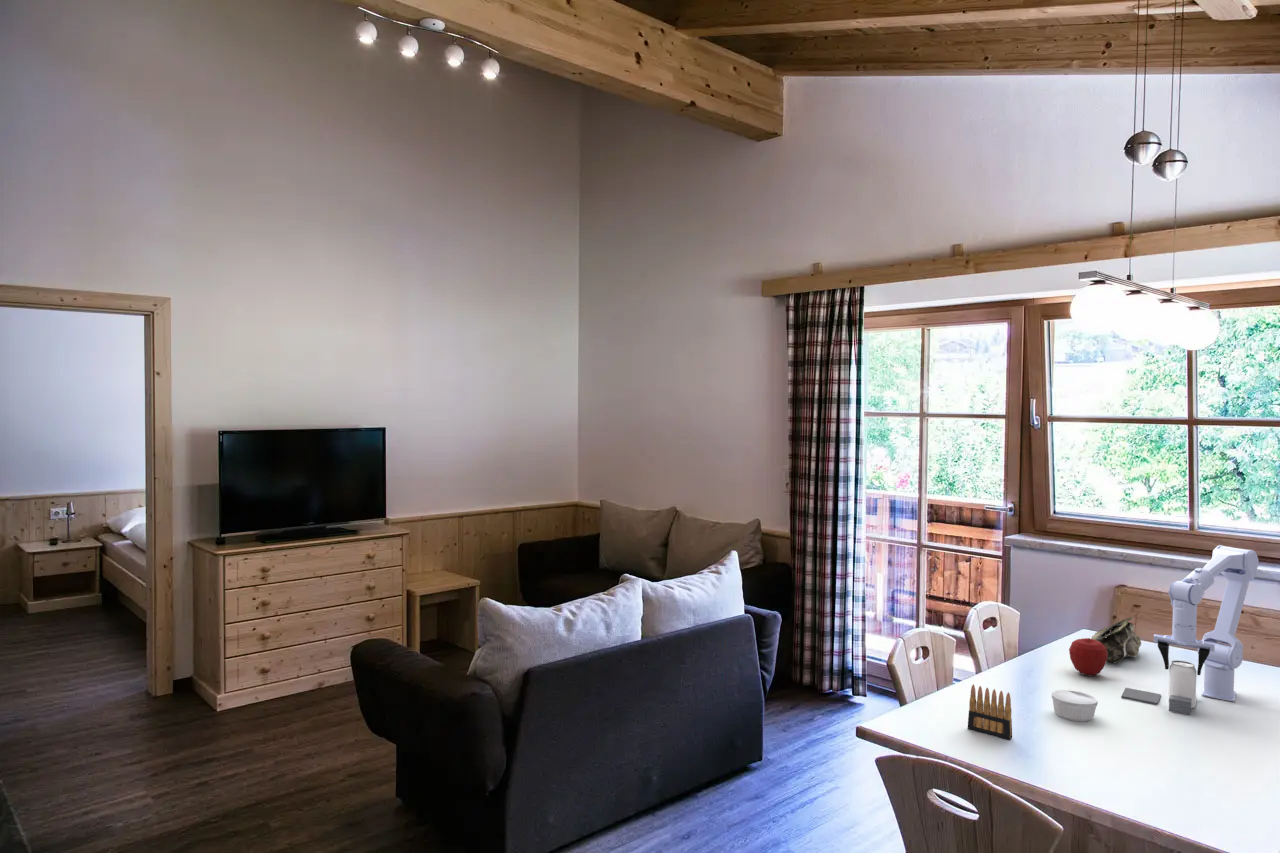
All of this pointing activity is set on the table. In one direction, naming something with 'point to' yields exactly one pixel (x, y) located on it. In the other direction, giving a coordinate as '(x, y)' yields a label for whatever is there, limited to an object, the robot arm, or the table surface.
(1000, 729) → the ammunition clip
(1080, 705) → the ramekin
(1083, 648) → the apple
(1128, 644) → the hollow geode rock
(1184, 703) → the block
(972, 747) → the table surface
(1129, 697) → the mat
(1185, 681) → the can
